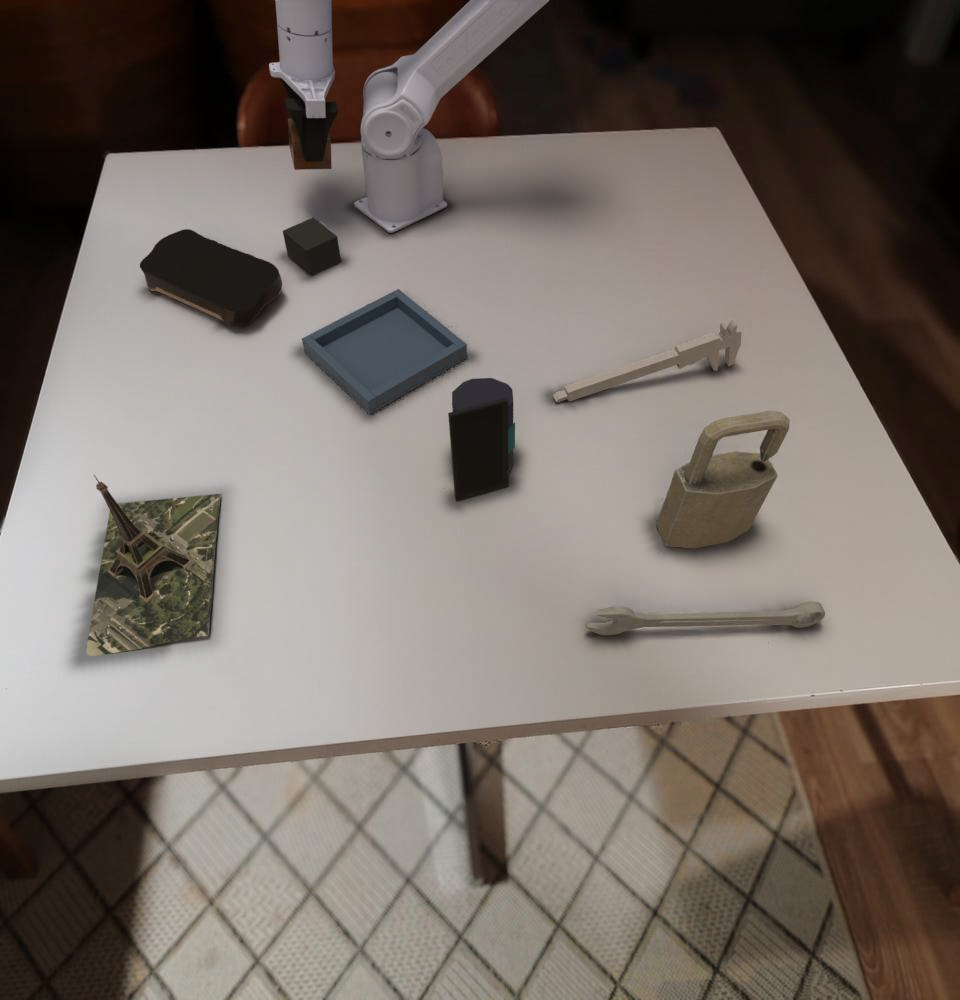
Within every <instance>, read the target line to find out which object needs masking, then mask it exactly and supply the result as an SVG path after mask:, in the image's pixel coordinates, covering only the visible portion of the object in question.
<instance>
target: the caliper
mask: <svg viewBox="0 0 960 1000" xmlns="http://www.w3.org/2000/svg"><path fill="white" fill-rule="evenodd" d="M741 344H742V330H741V329H740V328H739V326H738V324H737V323H736V322H735V320H734V319H733V318H731V320H730V321H729V322H728V324H727V326H725V325H724V323H722V322H720V325H719V331H718V333H717V332H716V331H714V332H710V333H708V334H705V335H703V336H699V337H696V338H694V339H691V340H688V341H686V342H685V341H684V342H682V343H680V344H677V345H675V346H674V348H672V349H669V350H667V351H664V352H662V353H659V354H656V355H652V356H649V357H646V358H644V359H640V360H638V361H635V362H632V363H628V364H626V365H623V366H620V367H616V368H614V369H612V370H611V369H610V370H608V371H605V372H602V373H599V374H596V375H593V376H591V377H588V378H584V379H581V380H579V381H576V382H572V383H570V384H567V385H564V389H561V390H559V391H556V392H555V393H553V394H552V398H553V399H554V401H555V403H560V402H563V401H566V400H567V401H568V402H572V401H575V400H578V399H581V398H585V397H587V396H590V395H593V394H595V393H598V392H602V391H605V390H608V389H610V388H613V387H616V386H619V385H621V384H624V383H628V382H630V381H633V380H636V379H640V378H643V377H645V376H648V375H651V374H654V373H657V372H660V371H664V370H666V369H669V368H672V367H675V366H677V368H678V369H679V370H681V369H683V368H685V367H687V366H692V365H695V364H696V363H698V362H700V361H701V360H703V359H705V358H706V359H707V362H708V364H709V366H710V367H711V369H712V370H713V371H715V372H718V370H719V364H720V351H721V350H724V362H725V364H726V365H727V366H728V367H732V365H734V363H735V360H736V358H737V356H738V353H739V350H740V348H741Z"/></svg>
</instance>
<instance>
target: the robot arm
mask: <svg viewBox="0 0 960 1000" xmlns="http://www.w3.org/2000/svg"><path fill="white" fill-rule="evenodd" d="M274 1H275V13H276V28H277V41H278V55H279V61H277V62H270V63H269V64H268V69H269V74H270V76H271V77H272V78H279V79H280V81H281V83H282V85H283V87H284V89H285V91H286V93H287V96H288V98H284V102H285V107H286V111H287V113H288V115H289V117H290V118H292V120H293V122H294V124H295V126H296V129H297V132H298V135H299V140H300V145H301V149H302V153H303V157H304V159H305V161H322V160H323V157H324V153H325V148H326V142H327V137H328V133H329V134H330V130H331V128H332V125H333V123H334V121H335V120H336V118H337V116H338V112H339V106H338V103H337V101H326V98H327V96H328V94H329V92H330V89H331V88H332V84H333V82H334V81H335V77H336V70H335V66H334V59H333V58H334V57H333V53H334V51H333V20H332V19H333V12H332V10H333V9H332V7H333V6H332V0H274ZM549 1H550V0H469V1H468V2H467V3H466V4H465V5H463V7H462V8H460V10H459V11H457V12H456V13H455V14H454V16H452V17H451V18H450V19H449V20H448V21H447V22H446V23H445V24H444V25H443V26H442V27H441V28H439V29H438V31H436V32H435V34H434V35H432V37H430V38H429V39H428V41H426V42H425V43H424V44H423V45H422V46H421V47H420V48H419V49H418V50H417V51H415V52H414V53H413V54H408V55H403V56H401V57H400V58H398V60H397V61H395V62H394V63H392V64H391V65H388V66H386V67H381V68H378V69H377V70H375V71H373V72H372V73H370V75H368V77H367V78H366V80H365V82H364V83H363V84H364V85H363V89H362V98H363V107H362V108H363V109H362V118H361V123H360V130H359V131H360V137H361V138H360V143H361V153H362V163H363V172H364V173H363V174H364V181H365V191H366V196H365V197H363V198H361V199H359V200H357V201H355V202H354V203H353V204H354V205H353V206H354V207H355V208H356V209H357V210H358V211H360V212H361V213H362V214H364V215H365V216H366V217H368V218H369V219H370V220H372V221H373V222H374V223H375V224H377V225H378V226H380V227H381V228H382V229H384V231H386V232H387V233H390V234H393V233H396V232H397V231H399V230H402V229H404V228H406V227H408V226H410V225H412V224H414V223H416V222H418V221H420V220H423V219H424V218H426V217H429V216H431V215H433V214H435V213H437V212H439V211H441V210H444V209H445V208H447V207H448V202H447V201H446V200H445V199H444V173H443V171H444V170H443V154H442V151H441V148H440V145H439V143H438V140H437V139H436V137H435V136H434V135H433V134H432V132H430V130H428V129H426V128H424V127H426V125H428V123H429V122H430V120H431V119H432V117H433V114H434V112H435V111H436V108H437V107H438V104H439V102H440V101H441V99H442V98H443V97H444V96H445V95H446V94H447V93H448V92H449V91H450V90H452V89H453V88H454V87H455V86H456V85H457V84H459V82H461V81H462V80H463V79H464V78H465V77H466V76H467V75H468V74H469V73H471V72H472V71H473V70H474V69H475V68H476V67H478V65H480V64H481V63H482V62H483V61H484V60H485V59H486V58H487V57H488V56H490V55H491V54H492V53H493V52H494V51H495V50H496V49H497V48H498V47H499V46H500V45H502V44H503V43H504V42H506V40H508V38H510V36H512V35H513V34H514V33H515V32H516V31H517V30H518V29H519V28H521V27H522V26H523V25H524V24H525V23H526V22H527V21H529V20H530V19H531V18H532V17H533V16H534V15H535V14H536V13H537V12H538V11H539V10H541V9H542V8H543V7H544V6H545V5H546V4H547V3H549Z"/></svg>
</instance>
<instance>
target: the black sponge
mask: <svg viewBox="0 0 960 1000" xmlns="http://www.w3.org/2000/svg"><path fill="white" fill-rule="evenodd" d="M139 268H140V269H141V270H140V271H142V272H143V276H144V278H145V282H146V286H147V288H148V289H149V290H150V291H151V292H158V293H161V294H163V295H165V296H167V297H168V298H172V299H174V300H176V301H179V302H181V303H182V304H186V305H188V306H190V307H192V308H194V309H196V310H198V311H201V312H203V313H206V314H208V315H210V316H212V317H215V318H216V319H219V320H222V322H223V323H224V324H225V325H226V326H228V327H232V328H236V329H243V328H246V327H247V326H249V325H250V324H251V323H252V322H253V321H254V320H255V319H256V318H257V317H258V316H259V314H260V313H261V312H262V310H263V309H264V308H265V307H266V306H267V305H269V304H270V303H271V302H272V301H274V299H276V298H277V297H279V296H280V295H281V292H282V290H283V289H282V288H283V281H282V277H281V274H280V271H279V269H278V267H277V266H276V265H275V264H273V263H271V262H270V261H267V260H265V259H262V258H259V257H256V256H254V255H252V254H249V253H246V252H242V251H240V250H239V249H235V248H232V247H230V246H227V245H225V244H223V243H220V242H218V241H216V240H214V239H210V238H207V237H205V236H204V235H202V234H199V233H197V232H196V231H194V230H192V229H190V228H189V229H188V228H185V229H181V230H178V231H175V232H173V233H170V234H167V235H166V236H164V237H163V238H161V239H160V240H159V241H158V242H156V244H154V246H153V248H152V250H151V251H150V252H149V253H148V254H147V255H146V256H145V257H144V258H142V260H140V262H139Z"/></svg>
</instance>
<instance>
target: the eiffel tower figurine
mask: <svg viewBox="0 0 960 1000" xmlns="http://www.w3.org/2000/svg"><path fill="white" fill-rule="evenodd" d="M93 477H94V478H95V480H96V481H97V483H96V484H95V487H96V490H97V491H99V492H100V493H101V495H102V498H103V499H104V502H105V503H106V505H107V507H108V509H109V514H108V518H107V519H108V520H107V526H106V532H105V537H104V544H103V548H102V549H103V550H102V554H101V561H100V565H99V566H100V567H99V572H98V574H97V575H98V578H97V583H96V589H95V594H94V601H93V607H92V612H91V619H90V624H89V631H88V637H87V642H86V648H85V655H87V656H90V657H97V656H104V655H109V654H117V653H122V652H128V651H134V650H135V651H136V650H139V649H140V650H141V649H146V648H151V647H154V646H159V645H163V644H168V643H172V642H178V641H184V640H187V639H188V640H190V639H195V638H201V637H208V636H210V623H211V612H212V603H213V600H212V598H213V590H214V572H215V571H214V570H215V558H216V557H215V556H216V547H217V546H216V545H217V535H218V534H217V533H218V524H219V516H220V508H221V507H220V506H221V495H222V494H221V493H215V494H205V495H194V496H184V497H173V498H161V499H150V500H140V501H129V502H120V503H118V502H117V500H115V498H114V496H113V495H112V494H111V492H110V491H109V489H108V488H109V487H108V485H106V484H105V483H104V482H103V481H99V479H98V477H97V475H95V474H93Z"/></svg>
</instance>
